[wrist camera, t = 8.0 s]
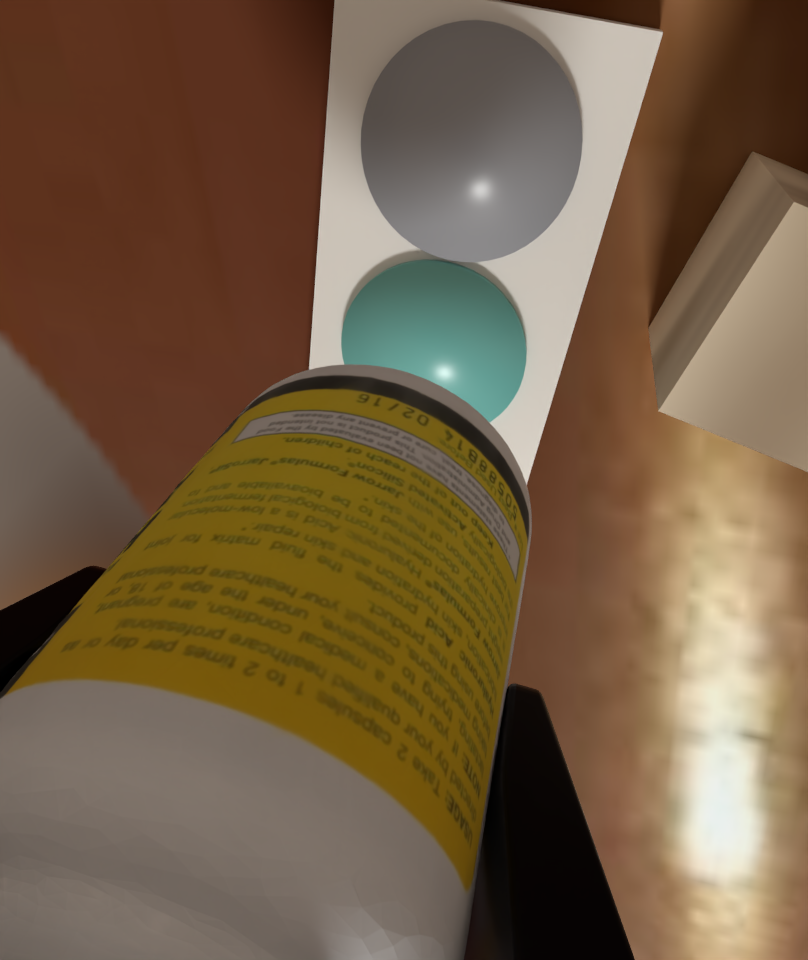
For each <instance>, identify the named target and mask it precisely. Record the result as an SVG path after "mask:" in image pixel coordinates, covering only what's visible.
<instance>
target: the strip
mask: <svg viewBox="0 0 808 960" xmlns="http://www.w3.org/2000/svg"><path fill="white" fill-rule="evenodd" d="M662 34H663V32H662V30H661V29H656V28H650V27H644V26H639V25H633V24H628V23H622V22H617V21H611V20H606V19H600V18H595V17H589V16H584V15H578V14H573V13H567V12H562V11H556V10H551V9H545V8H539V7H534V6H528V5H523V4H517V3H512V2H506V1H501V0H335V1H334V15H333V30H332V44H331V59H330V73H329V88H328V102H327V117H326V131H325V146H324V160H323V174H322V189H321V203H320V218H319V232H318V247H317V261H316V276H315V290H314V304H313V319H312V333H311V348H310V362H309V370H311V369H315V368H319V367H325V366H331V365H344V364H352V365H372V366H381V367H387V368H393V369H397V370H401V371H405V372H408V373H411V374H413V375H416V376H419V377H421V378H424V379H427V380H429V381H431V382H433V383H435V384H437V385H439V386H441V387H443V388H445V389H446V390H448V391H450V392H452V393H453V394H455V395H456V396H458V397H459V398H461V399H462V400H464V401H466V402H467V403H468V404H470V405H471V406H472V407H473V408H474V409H476V410H477V411H478V412H479V413H480V414H481V415H482V416H483V417H484V418H485V419H486V420H487V421H488V422H489V423H490V424H491V425H492V426H493V427H494V428H495V429H496V430H497V432H498V433H499V434H500V435H501V437H502V438H503V439H504V441H505V442H506V444H507V445H508V446H509V448H510V450H511V452H512V453H513V455H514V457H515V459H516V461H517V463H518V465H519V467H520V469H521V471H522V474H523V477H524V479H525V482H526V485H527V481H528V478H529V475H530V472H531V468H532V465H533V462H534V458H535V455H536V452H537V448H538V445H539V442H540V438H541V435H542V432H543V429H544V425H545V422H546V419H547V415H548V412H549V409H550V405H551V402H552V399H553V395H554V392H555V389H556V385H557V382H558V379H559V376H560V372H561V369H562V366H563V362H564V359H565V356H566V352H567V349H568V346H569V342H570V339H571V336H572V332H573V329H574V326H575V323H576V319H577V316H578V313H579V309H580V306H581V303H582V299H583V296H584V293H585V289H586V286H587V283H588V279H589V276H590V273H591V270H592V266H593V263H594V260H595V256H596V253H597V250H598V246H599V243H600V240H601V236H602V233H603V230H604V227H605V223H606V220H607V217H608V213H609V210H610V207H611V203H612V200H613V197H614V193H615V190H616V187H617V183H618V180H619V177H620V174H621V170H622V167H623V164H624V160H625V157H626V154H627V150H628V147H629V144H630V140H631V137H632V134H633V130H634V127H635V124H636V121H637V117H638V114H639V111H640V107H641V104H642V101H643V97H644V94H645V91H646V87H647V84H648V81H649V78H650V74H651V71H652V68H653V64H654V61H655V58H656V54H657V51H658V48H659V44H660V41H661V38H662Z"/></svg>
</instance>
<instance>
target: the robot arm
mask: <svg viewBox="0 0 808 960" xmlns="http://www.w3.org/2000/svg"><path fill="white" fill-rule="evenodd" d="M106 570H107V569H105V568H102V567H98V566H89V567H86V568H84V569H82V570H80V571H78V572H76V573H74V574H72V575H70V576H68V577H66V578H64V579H62V580H60V581H58V582H56V583H54V584H52V585H50V586H48V587H46V588H44V589H42V590H40V591H38V592H36V593H34V594H32V595H30V596H28V597H26V598H24V599H22V600H20V601H18V602H16V603H14V604H12V605H10V606H8V607H6V608H4V609H2V610H0V692H1V691H2V690H3V689H4V687H5V686H6V685H7V683H8V682H9V681H10V680H11V679H12V678H13V676H14V675H15V674H16V673H17V672H18V671H19V669H20V668H21V667H22V666H23V665H24V664H25V662H26V661H27V660H28V659H29V658H30V657H31V656H32V655H33V654H34V653H35V652H36V651H37V650H38V649H39V648H40V647H41V646H42V645H43V644H44V642H45V641H46V640H47V639H48V638H49V636H50V635H51V634H52V632H53V631H54V630H55V628H56V627H57V626H58V624H59V623H60V622H61V621H62V620H63V619H64V618H65V617H66V616H67V615H68V614H69V613H70V612H71V611H72V609H73V608H74V607H75V606H76V605H77V603H78V602H79V601H80V600H81V598H82V597H83V596H84V595H85V594H86V592H87V591H88V590H89V589H90V588H91V587H92V586H93V585H94V583H95V582H96V581H97V580H98V579H99V578H100V577H101V575H102V574H103V573H104V572H105V571H106ZM464 960H635V959H634V956H633V953H632V950H631V948H630V945H629V942H628V939H627V936H626V933H625V930H624V927H623V925H622V922H621V919H620V916H619V913H618V910H617V907H616V905H615V902H614V899H613V896H612V893H611V890H610V887H609V884H608V882H607V879H606V876H605V873H604V870H603V867H602V864H601V862H600V859H599V856H598V853H597V850H596V847H595V844H594V841H593V839H592V836H591V833H590V830H589V827H588V824H587V821H586V819H585V816H584V813H583V810H582V807H581V804H580V801H579V798H578V796H577V793H576V790H575V787H574V784H573V781H572V778H571V775H570V773H569V770H568V767H567V764H566V761H565V758H564V755H563V753H562V750H561V747H560V744H559V741H558V738H557V735H556V732H555V730H554V727H553V724H552V721H551V718H550V715H549V712H548V710H547V707H546V704H545V701H544V698H543V696H542V694H541V693H540V692H539V691H538V690H536V689H533V688H529V687H526V686H522V685H519V684H510V685H509V687H508V689H507V692H506V699H505V705H504V711H503V717H502V722H501V728H500V734H499V740H498V747H497V753H496V759H495V765H494V771H493V777H492V783H491V790H490V796H489V802H488V808H487V814H486V821H485V827H484V833H483V840H482V847H481V853H480V860H479V867H478V873H477V880H476V887H475V893H474V900H473V906H472V913H471V920H470V926H469V933H468V939H467V944H466V950H465V955H464Z"/></svg>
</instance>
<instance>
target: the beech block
mask: <svg viewBox="0 0 808 960" xmlns="http://www.w3.org/2000/svg"><path fill="white" fill-rule="evenodd" d="M648 330H649V338H650V346H651V354H652V363H653V371H654V379H655V387H656V395H657V404H658V411H660V412H662V413H665V414H667V415H669V416H672V417H674V418H677V419H679V420H682V421H684V422H687V423H689V424H691V425H694V426H696V427H699V428H701V429H704V430H706V431H709V432H711V433H713V434H716V435H718V436H721V437H723V438H726V439H728V440H731V441H733V442H735V443H738V444H740V445H743V446H745V447H748V448H750V449H753V450H755V451H757V452H760V453H762V454H765V455H767V456H770V457H772V458H775V459H777V460H779V461H782V462H784V463H787V464H789V465H792V466H794V467H797V468H799V469H801V470H804V471H806V472H808V174H806V173H804V172H802V171H799V170H797V169H794V168H792V167H789V166H787V165H785V164H782V163H780V162H777V161H775V160H772V159H770V158H768V157H765V156H763V155H760V154H758V153H755V152H753V151H752V152H751V154H750V156H749V158H748V159H747V161H746V163H745V164H744V166H743V168H742V169H741V171H740V173H739V175H738V176H737V178H736V180H735V181H734V183H733V185H732V186H731V188H730V190H729V192H728V193H727V195H726V197H725V198H724V200H723V202H722V204H721V205H720V207H719V209H718V210H717V212H716V214H715V215H714V217H713V219H712V221H711V222H710V224H709V226H708V227H707V229H706V231H705V232H704V234H703V236H702V238H701V239H700V241H699V243H698V244H697V246H696V248H695V250H694V251H693V253H692V255H691V256H690V258H689V260H688V261H687V263H686V265H685V267H684V268H683V270H682V272H681V273H680V275H679V277H678V278H677V280H676V282H675V284H674V285H673V287H672V289H671V290H670V292H669V294H668V295H667V297H666V299H665V301H664V302H663V304H662V306H661V307H660V309H659V311H658V313H657V314H656V316H655V318H654V319H653V321H652V323H651V324H650V326H649V328H648Z"/></svg>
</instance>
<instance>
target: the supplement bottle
mask: <svg viewBox="0 0 808 960" xmlns="http://www.w3.org/2000/svg"><path fill="white" fill-rule="evenodd" d="M531 530H532V515H531V505H530V499H529V492H528V489H527V485H526V482H525V479H524V477H523V474H522V471H521V469H520V467H519V465H518V463H517V461H516V459H515V457H514V455H513V453H512V452H511V450H510V448H509V446H508V445H507V444H506V442H505V441H504V439H503V438H502V437H501V435H500V434H499V433H498V432H497V430H496V429H495V428H494V427H493V426H492V425H491V424H490V423H489V422H488V421H487V420H486V419H485V418H484V417H483V416H482V415H481V414H480V413H479V412H478V411H477V410H476V409H474V408H473V407H472V406H471V405H470V404H468V403H467V402H466V401H464V400H462V399H461V398H459V397H458V396H456V395H455V394H453V393H452V392H450V391H448V390H446V389H445V388H443V387H441V386H439V385H437V384H435V383H433V382H431V381H429V380H427V379H424V378H421V377H419V376H416V375H413V374H411V373H408V372H405V371H401V370H397V369H393V368H387V367H381V366H372V365H352V364H344V365H331V366H325V367H319V368H315V369H311V370H306V371H303V372H301V373H298V374H295V375H292V376H290V377H288V378H286V379H284V380H282V381H280V382H278V383H276V384H274V385H273V386H271V387H270V388H268V389H267V390H265V391H264V392H263V393H262V394H260V395H259V396H258V397H257V398H256V399H254V400H253V401H252V402H251V403H250V404H249V405H248V406H247V407H246V408H245V409H244V410H243V411H242V412H241V414H240V415H239V416H238V417H237V418H236V419H235V420H234V421H233V422H232V423H231V424H230V425H229V427H228V428H227V429H226V430H225V431H224V433H223V434H222V435H221V436H220V437H219V438H218V439H217V440H216V441H215V442H214V444H213V445H212V446H211V448H210V449H209V450H208V451H207V452H206V454H205V455H204V456H203V457H202V458H201V460H200V461H199V462H198V463H197V464H196V465H195V466H194V467H193V468H192V470H191V471H190V472H189V473H188V474H187V475H186V477H185V478H184V479H183V480H182V481H181V482H180V483H179V484H178V486H177V487H176V488H175V490H174V491H173V492H172V493H171V494H170V496H169V497H168V498H167V499H166V500H165V502H164V503H163V504H162V505H161V506H160V508H159V509H158V510H157V511H156V512H155V513H154V515H153V516H152V517H151V518H150V519H149V520H148V521H147V523H146V524H145V525H144V526H143V527H142V528H141V530H140V531H139V532H138V533H137V534H136V535H135V537H134V538H133V539H132V540H131V541H130V543H129V544H128V545H127V546H126V547H125V548H124V550H123V551H122V552H121V553H120V554H119V555H118V557H117V558H116V559H115V560H114V561H113V563H112V564H111V565H110V566H109V568H108V569H107V570H106V571H105V572H104V573H103V574H102V575H101V577H100V578H99V579H98V580H97V581H96V582H95V583H94V585H93V586H92V587H91V588H90V589H89V590H88V591H87V592H86V594H85V595H84V596H83V597H82V598H81V600H80V601H79V602H78V603H77V605H76V606H75V607H74V608H73V609H72V611H71V612H70V613H69V614H68V615H67V616H66V617H65V618H64V619H63V620H62V621H61V622H60V623H59V624H58V626H57V627H56V628H55V630H54V631H53V632H52V634H51V635H50V636H49V638H48V639H47V640H46V641H45V642H44V644H43V645H42V646H41V647H40V648H39V649H38V650H37V651H36V652H35V653H34V654H33V655H32V656H31V657H30V658H29V659H28V660H27V661H26V662H25V664H24V665H23V666H22V667H21V668H20V669H19V671H18V672H17V673H16V674H15V675H14V676H13V678H12V679H11V680H10V681H9V682H8V683H7V685H6V686H5V687H4V689H3V690H2V691H1V692H0V960H464V955H465V950H466V944H467V939H468V933H469V926H470V920H471V913H472V906H473V900H474V893H475V887H476V880H477V873H478V867H479V860H480V853H481V847H482V840H483V833H484V827H485V821H486V814H487V808H488V802H489V796H490V790H491V783H492V777H493V771H494V765H495V759H496V753H497V747H498V740H499V734H500V728H501V722H502V717H503V711H504V705H505V699H506V692H507V686H508V679H509V672H510V666H511V660H512V654H513V648H514V641H515V635H516V629H517V623H518V617H519V611H520V605H521V599H522V593H523V587H524V581H525V573H526V567H527V561H528V554H529V547H530V540H531Z"/></svg>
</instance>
